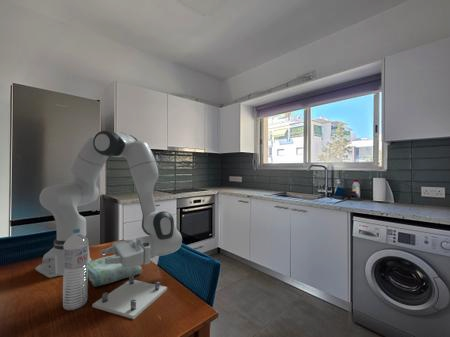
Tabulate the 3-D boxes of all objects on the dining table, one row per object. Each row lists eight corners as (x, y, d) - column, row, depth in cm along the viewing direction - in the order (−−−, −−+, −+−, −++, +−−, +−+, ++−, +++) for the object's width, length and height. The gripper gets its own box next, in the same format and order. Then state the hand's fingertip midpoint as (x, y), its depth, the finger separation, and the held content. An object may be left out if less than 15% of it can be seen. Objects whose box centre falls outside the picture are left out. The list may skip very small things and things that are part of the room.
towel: (125, 260, 107) (125, 250, 107) (142, 275, 92) (142, 263, 92) (82, 272, 95) (82, 260, 95) (94, 291, 79) (94, 278, 79)
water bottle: (83, 296, 76) (84, 226, 76) (90, 303, 72) (91, 229, 72) (60, 305, 71) (61, 230, 71) (66, 314, 66) (67, 234, 67)
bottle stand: (92, 306, 70) (92, 296, 70) (131, 281, 86) (131, 272, 86) (133, 319, 64) (133, 307, 64) (166, 289, 80) (167, 280, 80)
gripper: (135, 234, 93) (99, 240, 84) (151, 248, 77) (107, 257, 68) (135, 248, 93) (98, 256, 84) (150, 265, 77) (107, 277, 68)
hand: (102, 257), depth 76 cm, fingers open, 8 cm apart
